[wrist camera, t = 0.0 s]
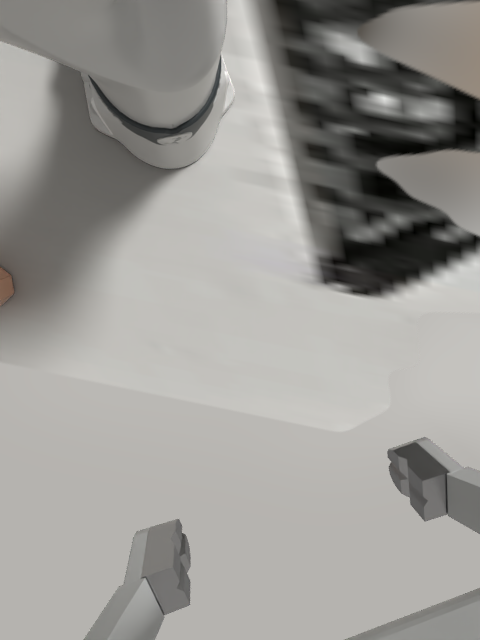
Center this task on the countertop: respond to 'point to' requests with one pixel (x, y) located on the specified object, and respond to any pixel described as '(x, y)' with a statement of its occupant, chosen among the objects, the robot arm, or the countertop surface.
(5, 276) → the cup
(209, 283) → the countertop surface
